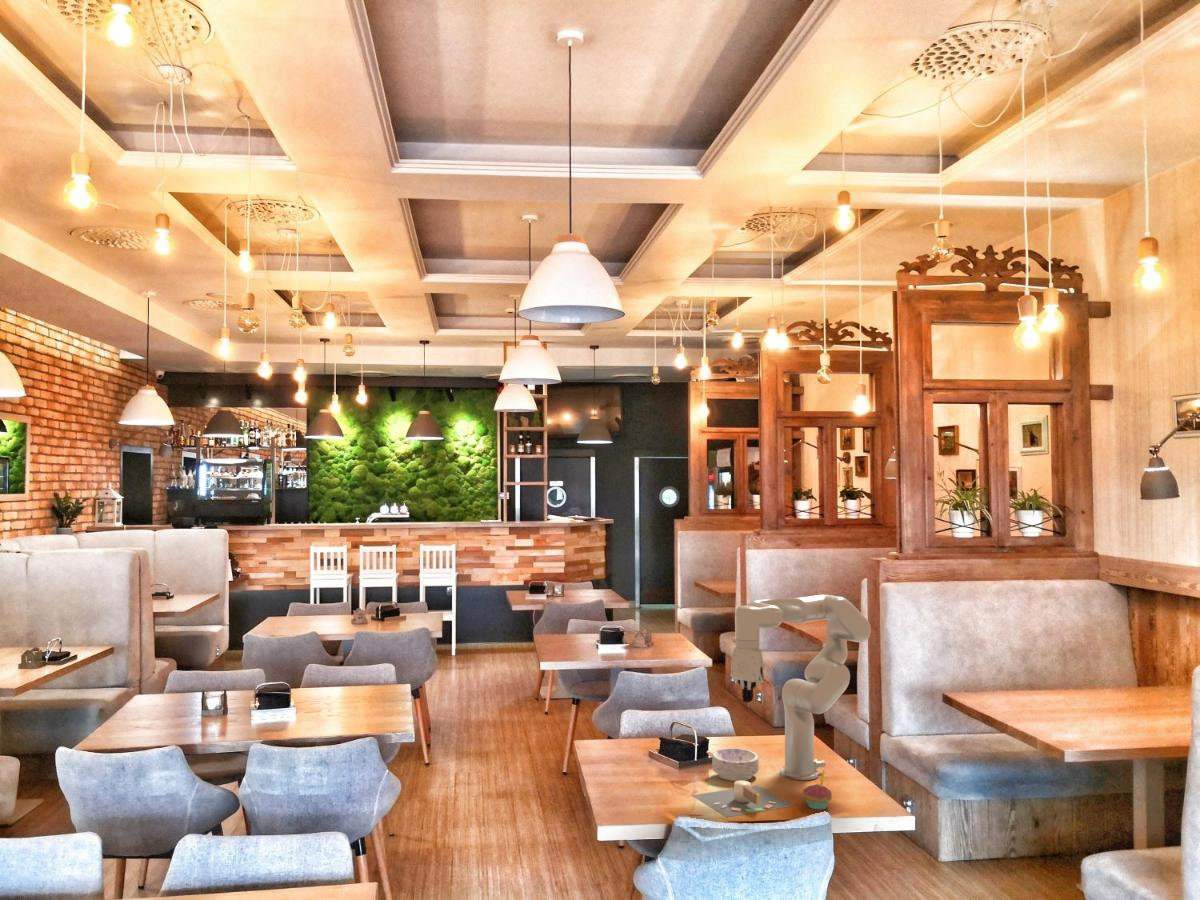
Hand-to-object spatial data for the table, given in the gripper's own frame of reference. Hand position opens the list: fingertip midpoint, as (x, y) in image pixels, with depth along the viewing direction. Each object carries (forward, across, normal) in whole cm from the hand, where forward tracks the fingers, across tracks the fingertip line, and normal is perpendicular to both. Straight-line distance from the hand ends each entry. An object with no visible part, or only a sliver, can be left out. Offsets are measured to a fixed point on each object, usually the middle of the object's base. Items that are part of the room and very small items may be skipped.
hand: (747, 701), depth 299 cm
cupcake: (+27, +27, -5) cm, 39 cm away
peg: (+26, +11, -18) cm, 33 cm away
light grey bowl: (+27, -6, +3) cm, 28 cm away
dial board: (+27, +8, -16) cm, 32 cm away
